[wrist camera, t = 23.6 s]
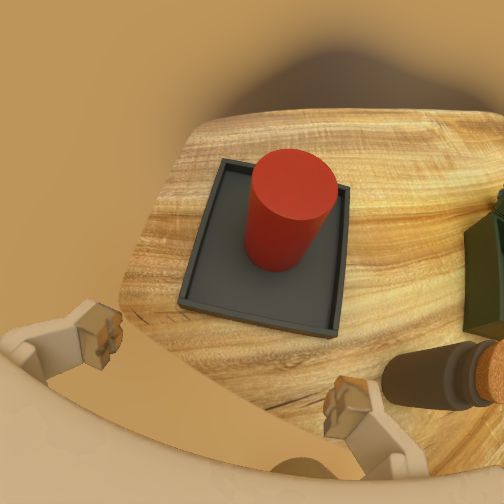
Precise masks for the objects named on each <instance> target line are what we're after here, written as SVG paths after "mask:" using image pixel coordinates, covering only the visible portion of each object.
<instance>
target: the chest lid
mask: <svg viewBox="0 0 504 504" xmlns="http://www.w3.org/2000/svg"><path fill="white" fill-rule="evenodd" d="M494 209H495V211H497V212H498V213H500V214H501V215H503V216H504V195H503V196H502V198H501V199H500V200H499V201H498V202H497V203H496V204H495V206H494Z"/></svg>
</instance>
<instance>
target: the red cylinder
mask: <svg viewBox="0 0 504 504" xmlns="http://www.w3.org/2000/svg"><path fill="white" fill-rule="evenodd" d="M337 196H338V185H337V181H336V178H335V176H334V174H333V172H332V171H331V169H330V168H329V167H328V166H327V165H326V164H325V163H324V162H323V161H322V160H321V159H319V158H318V157H316V156H314V155H312V154H310V153H308V152H305V151H302V150H297V149H280V150H276V151H273V152H270V153H269V154H267V155H265V156H264V157H262V158H261V159H260V160H259V161H258V163H257V164H256V166H255V167H254V170H253V173H252V179H251V187H250V195H249V204H248V212H247V221H246V229H245V238H244V245H245V250H246V253H247V255H248V257H249V258H250V259H251V261H252V262H253V263H254V264H255V265H257V266H258V267H260V268H262V269H264V270H267V271H271V272H282V271H286V270H289V269H291V268H293V267H294V266H296V265H297V264H298V263H299V262H300V260H301V259H302V257H303V256H304V254H305V252H306V251H307V249H308V247H309V246H310V244H311V243H312V241H313V239H314V238H315V236H316V234H317V233H318V231H319V229H320V228H321V226H322V224H323V223H324V221H325V220H326V218H327V216H328V214H329V213H330V211H331V209H332V208H333V206H334V204H335V202H336V200H337Z"/></svg>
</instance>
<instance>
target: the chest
mask: <svg viewBox="0 0 504 504" xmlns="http://www.w3.org/2000/svg"><path fill="white" fill-rule="evenodd" d="M464 241H465V267H466V288H465V313H464V327H463V331H464V332H468V333H472V334H475V335H479V336H483V337H487V338H491V339H495V340H499V341H501V340H503V339H504V217H502V216H501V215H499V214H497V213H496V212H494V211H491V212H490V213H488V214H487V215H486V216H485V217H483V218H482V219H481V220H480V221H478V222H477V223H476V224H474V225H473V226H472V227H470V228H469V229H468V230H466V231H465V232H464Z"/></svg>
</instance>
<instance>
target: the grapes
mask: <svg viewBox="0 0 504 504" xmlns="http://www.w3.org/2000/svg"><path fill="white" fill-rule="evenodd" d="M503 186H504V185H503ZM503 195H504V189H501V190H500V191H499V193H498V196H497V198H498V201H499V200H500V199H501V198H502V196H503Z"/></svg>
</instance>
